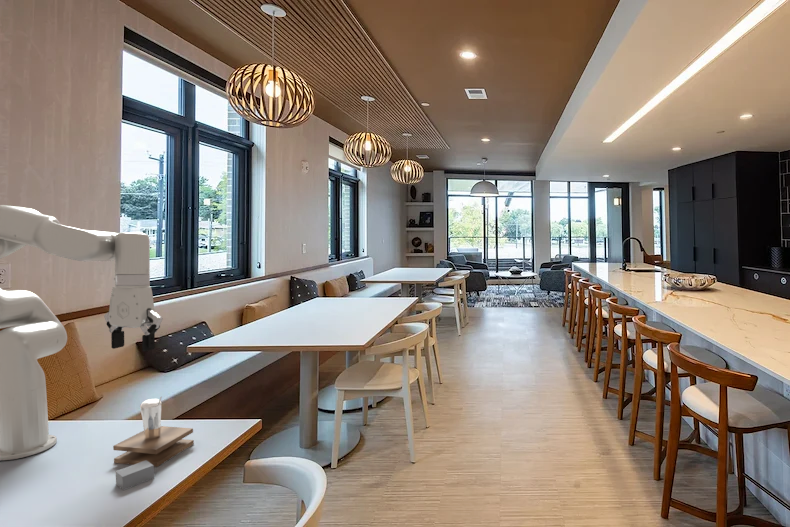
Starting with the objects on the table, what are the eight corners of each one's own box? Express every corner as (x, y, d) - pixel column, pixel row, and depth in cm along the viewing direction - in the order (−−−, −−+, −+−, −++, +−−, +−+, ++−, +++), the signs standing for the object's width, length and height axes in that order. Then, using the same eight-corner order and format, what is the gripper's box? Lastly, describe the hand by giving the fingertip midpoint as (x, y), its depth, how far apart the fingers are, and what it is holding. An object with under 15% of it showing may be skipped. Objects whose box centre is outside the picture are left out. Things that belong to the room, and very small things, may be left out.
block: (116, 485, 91) (115, 471, 91) (146, 473, 96) (146, 460, 96) (123, 491, 89) (122, 476, 89) (154, 479, 94) (153, 465, 93)
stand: (114, 462, 101) (113, 445, 101) (154, 440, 113) (153, 425, 113) (157, 467, 98) (156, 449, 98) (193, 444, 110) (192, 428, 110)
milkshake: (156, 441, 103) (153, 399, 102) (137, 440, 104) (135, 398, 104) (170, 433, 107) (168, 393, 107) (152, 432, 108) (150, 392, 108)
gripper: (92, 281, 108) (92, 349, 109) (148, 283, 103) (148, 354, 104) (118, 279, 115) (119, 343, 116) (172, 281, 111) (172, 348, 111)
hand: (133, 348), depth 110 cm, fingers open, 9 cm apart
